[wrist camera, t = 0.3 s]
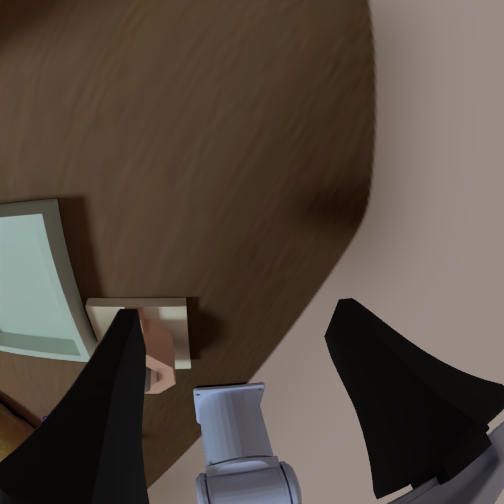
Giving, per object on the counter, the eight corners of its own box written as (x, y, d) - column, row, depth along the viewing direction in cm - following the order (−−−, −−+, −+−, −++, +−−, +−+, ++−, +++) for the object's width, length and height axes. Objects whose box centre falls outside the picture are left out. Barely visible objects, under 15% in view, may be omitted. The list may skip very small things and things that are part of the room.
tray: (96, 341, 22) (92, 362, 20) (-8, 330, 19) (-15, 347, 17) (57, 198, 15) (41, 213, 13) (-56, 213, 12) (-71, 226, 10)
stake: (190, 360, 25) (194, 409, 21) (110, 359, 23) (104, 408, 19) (185, 297, 21) (188, 354, 16) (88, 297, 19) (71, 351, 15)
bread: (-13, 377, 23) (-28, 432, 14) (86, 460, 41) (86, 497, 33) (-64, 364, 20) (-78, 406, 11) (29, 449, 38) (26, 481, 30)
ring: (176, 360, 23) (177, 393, 20) (118, 360, 22) (114, 392, 19) (169, 306, 20) (168, 343, 17) (99, 306, 19) (90, 341, 16)
